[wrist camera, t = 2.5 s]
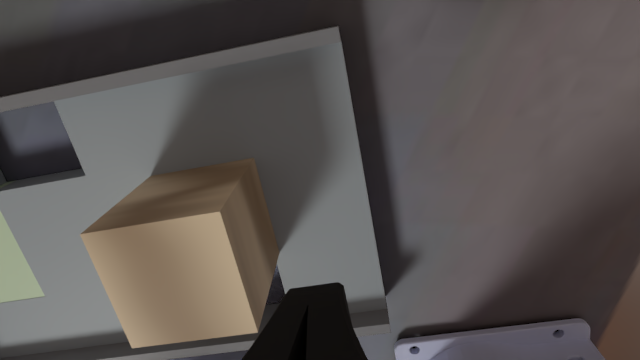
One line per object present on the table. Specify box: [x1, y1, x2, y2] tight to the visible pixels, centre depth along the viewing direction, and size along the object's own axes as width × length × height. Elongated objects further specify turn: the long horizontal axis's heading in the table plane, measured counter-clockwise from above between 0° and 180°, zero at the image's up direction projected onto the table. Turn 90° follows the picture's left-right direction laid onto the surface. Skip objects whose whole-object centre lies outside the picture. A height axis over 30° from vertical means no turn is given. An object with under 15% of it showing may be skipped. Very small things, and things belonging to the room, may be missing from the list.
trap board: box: [0, 25, 391, 360], centre depth 18 cm, size 22×13×4 cm, turn 101°
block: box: [80, 158, 279, 348], centre depth 15 cm, size 4×4×5 cm
